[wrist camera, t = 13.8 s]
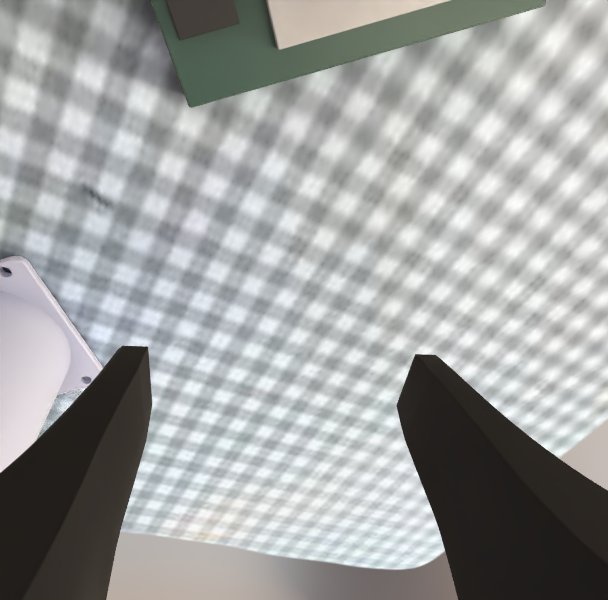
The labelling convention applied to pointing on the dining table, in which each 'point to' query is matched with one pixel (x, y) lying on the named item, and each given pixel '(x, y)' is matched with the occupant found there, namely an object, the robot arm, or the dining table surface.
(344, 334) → the dining table surface
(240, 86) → the scale
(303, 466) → the dining table surface
